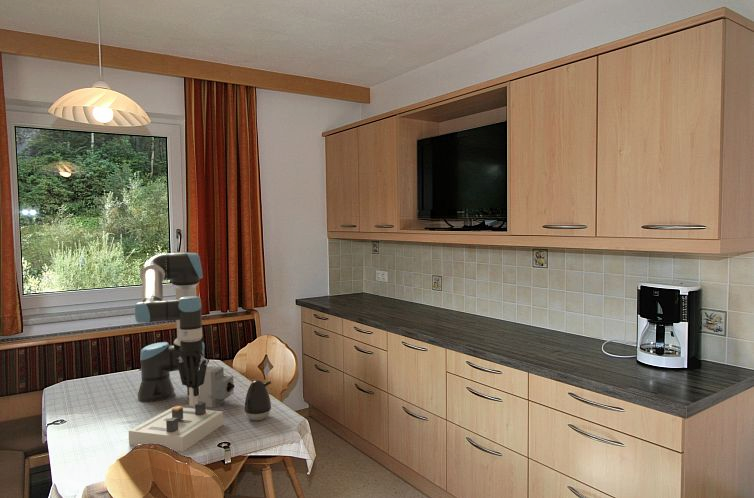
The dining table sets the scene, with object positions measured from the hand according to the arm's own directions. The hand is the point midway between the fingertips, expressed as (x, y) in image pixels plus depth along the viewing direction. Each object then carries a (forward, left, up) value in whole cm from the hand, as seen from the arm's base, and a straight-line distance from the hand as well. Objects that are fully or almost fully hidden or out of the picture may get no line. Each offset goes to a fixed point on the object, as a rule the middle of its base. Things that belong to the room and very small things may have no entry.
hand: (193, 404), depth 184 cm
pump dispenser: (+14, +21, -12) cm, 28 cm away
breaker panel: (-7, 0, -12) cm, 14 cm away
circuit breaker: (-11, +31, -12) cm, 35 cm away
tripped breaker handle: (-7, 0, -6) cm, 10 cm away
